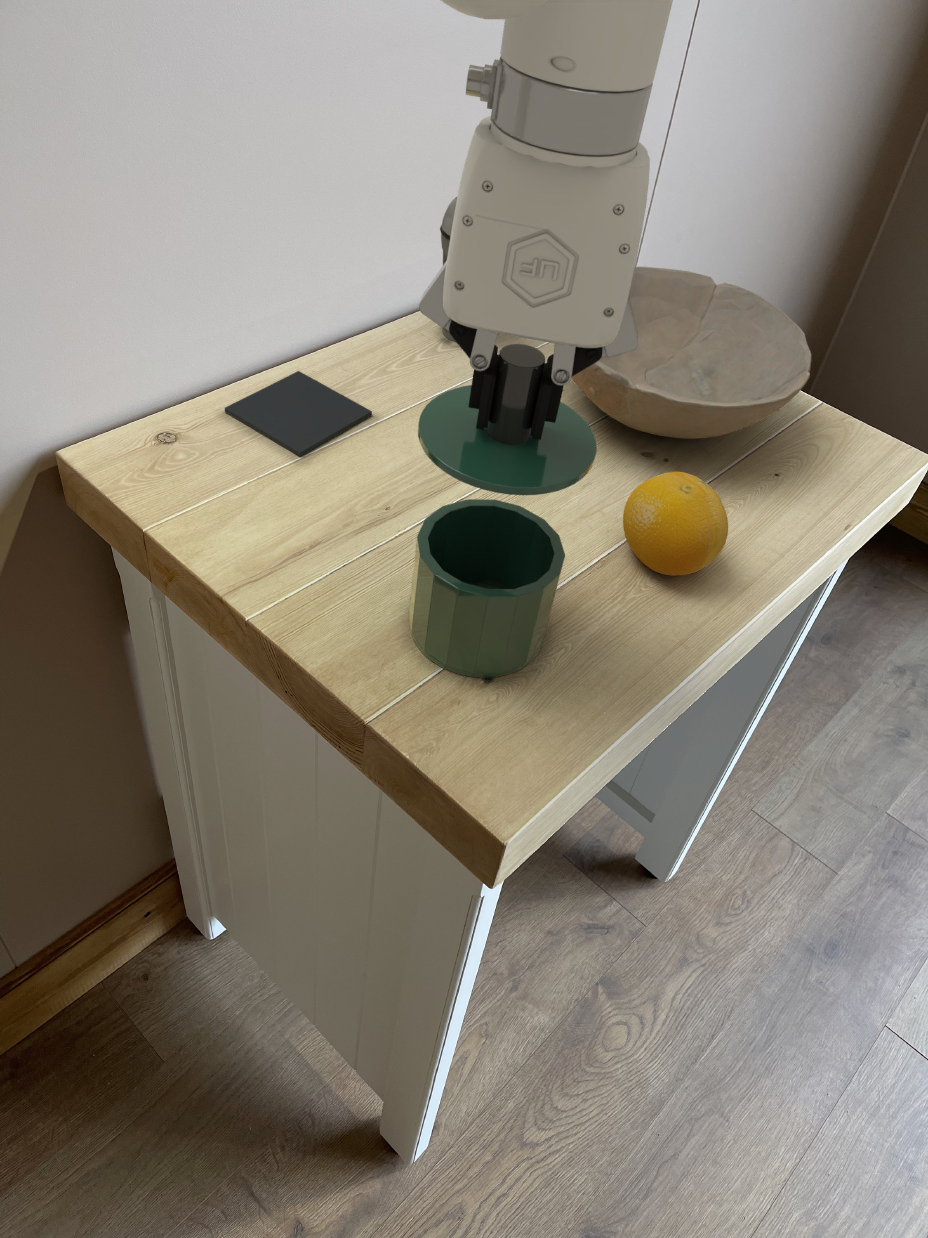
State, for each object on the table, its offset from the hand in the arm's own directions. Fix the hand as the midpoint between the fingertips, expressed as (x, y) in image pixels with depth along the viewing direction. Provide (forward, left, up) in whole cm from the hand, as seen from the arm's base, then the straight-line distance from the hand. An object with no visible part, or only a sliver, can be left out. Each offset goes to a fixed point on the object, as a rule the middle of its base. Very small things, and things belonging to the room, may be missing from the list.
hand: (510, 420), depth 59 cm
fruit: (+7, +18, -19) cm, 27 cm away
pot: (0, 0, -19) cm, 19 cm away
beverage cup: (-29, +36, -19) cm, 50 cm away
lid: (0, 0, -1) cm, 1 cm away
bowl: (-5, +39, -19) cm, 44 cm away
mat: (-30, +11, -19) cm, 37 cm away
